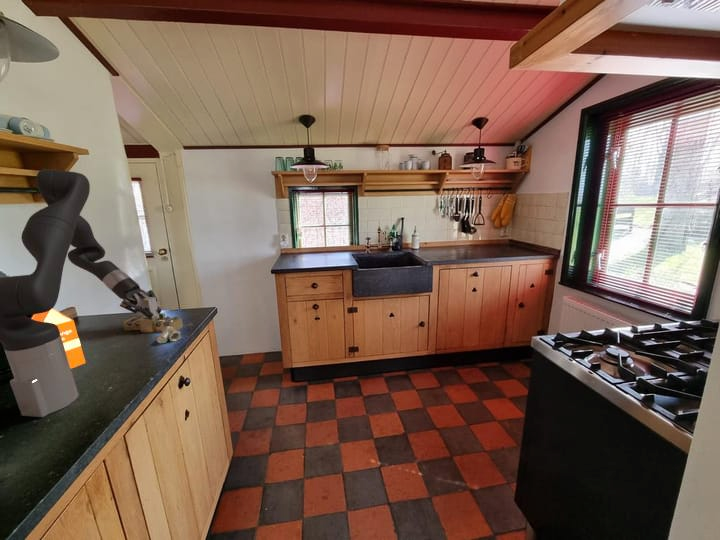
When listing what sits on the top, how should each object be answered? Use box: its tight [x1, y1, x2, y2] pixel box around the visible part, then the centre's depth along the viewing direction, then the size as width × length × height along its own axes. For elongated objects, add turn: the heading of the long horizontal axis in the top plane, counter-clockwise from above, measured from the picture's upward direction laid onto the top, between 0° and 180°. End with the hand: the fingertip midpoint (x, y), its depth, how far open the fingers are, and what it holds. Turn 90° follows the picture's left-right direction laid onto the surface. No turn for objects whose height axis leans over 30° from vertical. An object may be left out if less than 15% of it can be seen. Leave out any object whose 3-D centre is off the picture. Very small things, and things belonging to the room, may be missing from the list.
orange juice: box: [30, 307, 86, 369], centre depth 90 cm, size 8×9×20 cm
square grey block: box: [140, 297, 160, 323], centre depth 116 cm, size 4×4×11 cm
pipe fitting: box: [156, 326, 182, 345], centre depth 108 cm, size 8×4×7 cm
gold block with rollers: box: [122, 312, 184, 333], centre depth 117 cm, size 7×21×5 cm, turn 83°
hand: (155, 314), depth 116 cm, fingers closed on square grey block, 3 cm apart
